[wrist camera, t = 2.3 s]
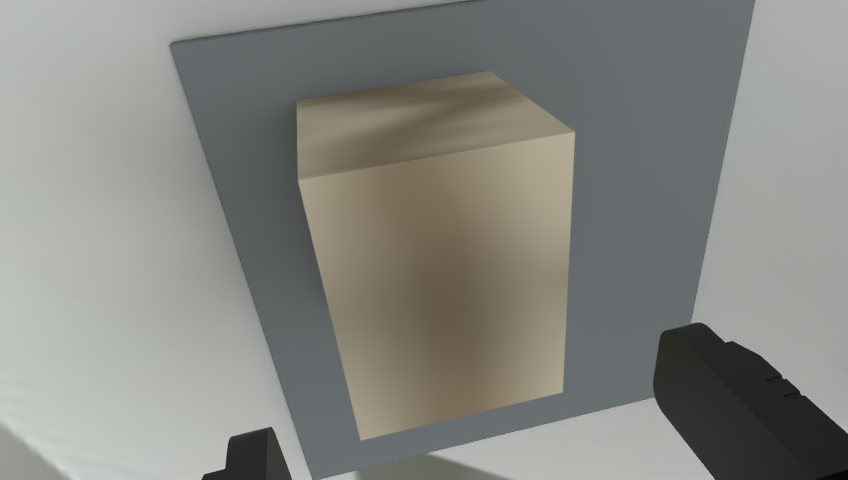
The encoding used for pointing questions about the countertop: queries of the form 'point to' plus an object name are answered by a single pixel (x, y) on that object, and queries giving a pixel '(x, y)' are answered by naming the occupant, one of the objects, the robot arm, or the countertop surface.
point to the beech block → (440, 244)
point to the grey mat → (591, 193)
